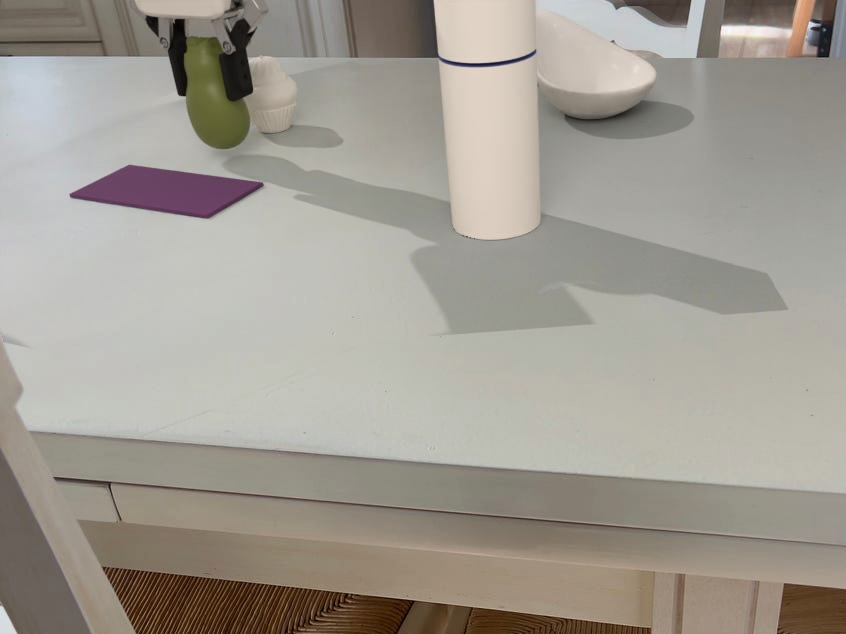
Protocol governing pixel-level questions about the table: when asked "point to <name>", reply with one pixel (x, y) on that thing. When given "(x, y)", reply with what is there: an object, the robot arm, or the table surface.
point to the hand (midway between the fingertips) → (215, 92)
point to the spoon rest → (587, 70)
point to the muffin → (271, 95)
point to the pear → (212, 97)
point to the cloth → (167, 190)
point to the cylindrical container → (490, 115)
